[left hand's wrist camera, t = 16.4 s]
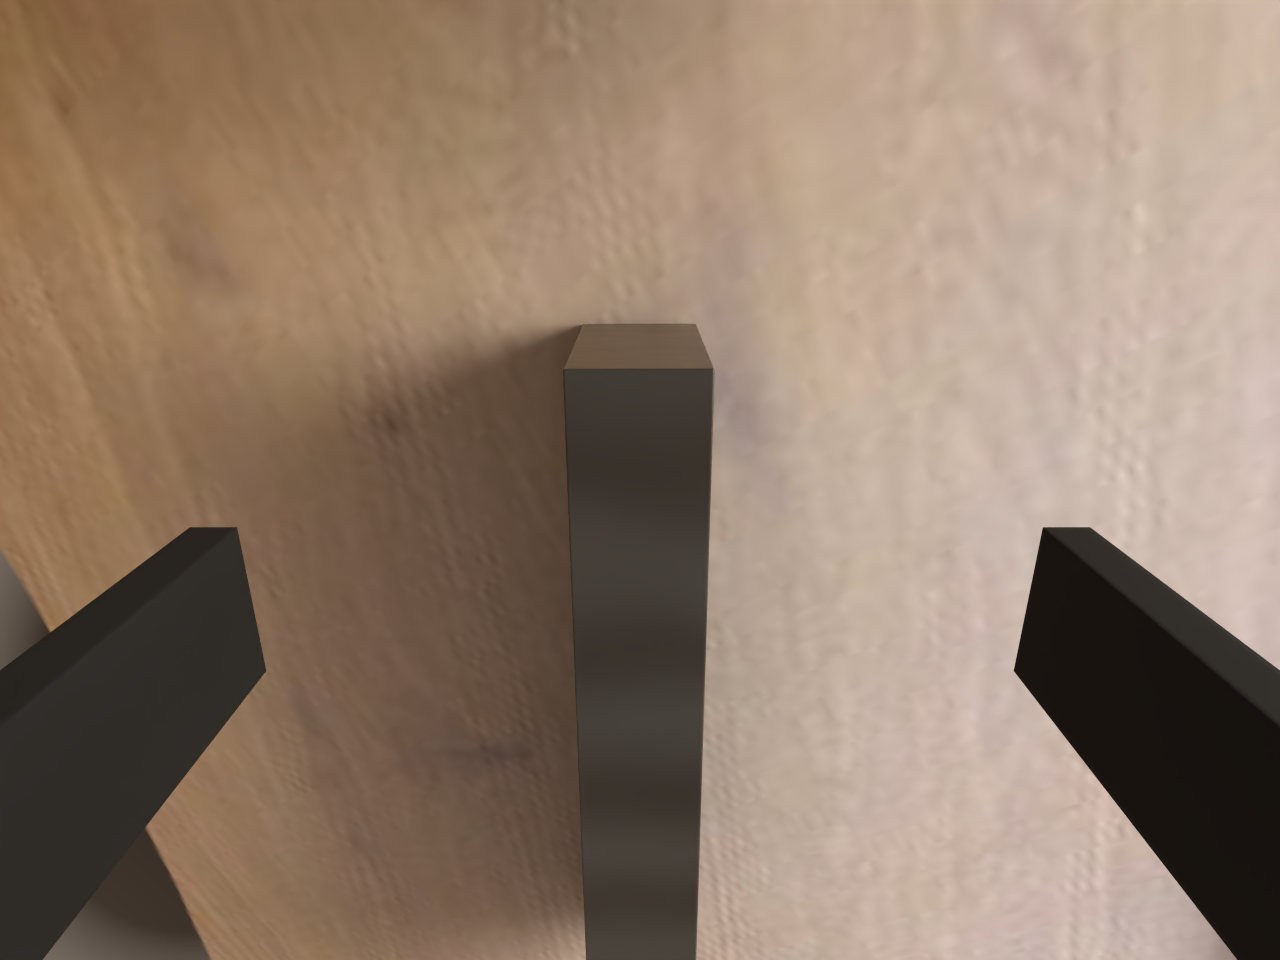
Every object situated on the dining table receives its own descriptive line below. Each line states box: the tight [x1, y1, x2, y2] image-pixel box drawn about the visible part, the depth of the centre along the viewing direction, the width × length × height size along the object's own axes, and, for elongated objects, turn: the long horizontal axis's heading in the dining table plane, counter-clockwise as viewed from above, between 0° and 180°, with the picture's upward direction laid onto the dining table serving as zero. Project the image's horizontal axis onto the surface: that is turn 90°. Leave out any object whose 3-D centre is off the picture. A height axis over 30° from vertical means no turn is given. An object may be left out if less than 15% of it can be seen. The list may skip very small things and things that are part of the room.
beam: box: [563, 324, 715, 960], centre depth 36 cm, size 34×5×9 cm, turn 0°
